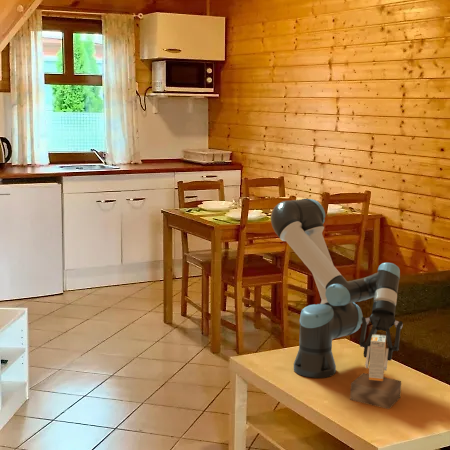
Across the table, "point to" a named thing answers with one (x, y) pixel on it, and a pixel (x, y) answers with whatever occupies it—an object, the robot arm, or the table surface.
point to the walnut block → (375, 391)
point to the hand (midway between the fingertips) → (375, 367)
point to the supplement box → (377, 357)
